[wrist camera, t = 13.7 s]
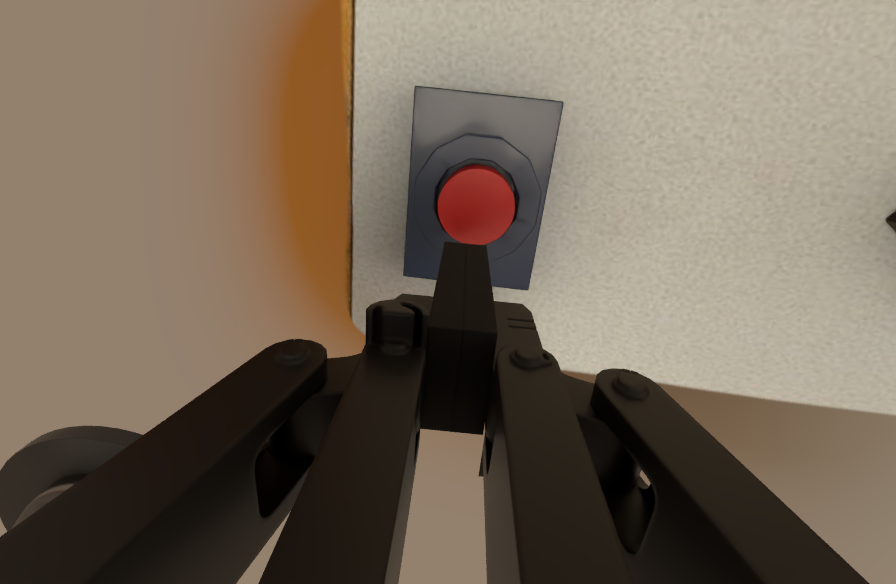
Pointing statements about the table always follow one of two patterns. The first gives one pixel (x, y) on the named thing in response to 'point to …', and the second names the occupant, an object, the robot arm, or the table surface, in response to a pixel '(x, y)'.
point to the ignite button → (476, 205)
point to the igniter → (485, 143)
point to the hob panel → (892, 220)
